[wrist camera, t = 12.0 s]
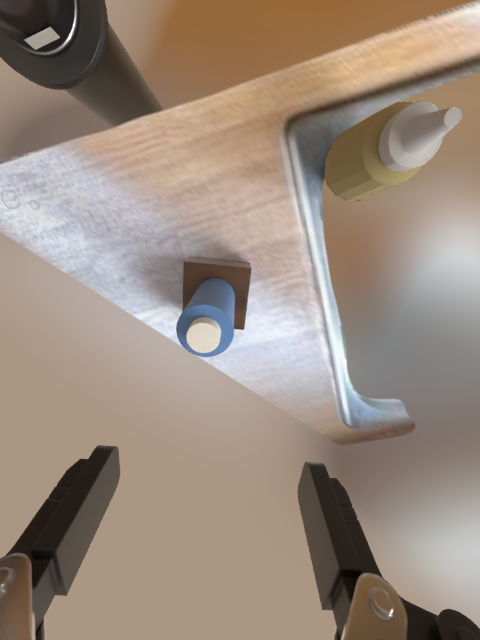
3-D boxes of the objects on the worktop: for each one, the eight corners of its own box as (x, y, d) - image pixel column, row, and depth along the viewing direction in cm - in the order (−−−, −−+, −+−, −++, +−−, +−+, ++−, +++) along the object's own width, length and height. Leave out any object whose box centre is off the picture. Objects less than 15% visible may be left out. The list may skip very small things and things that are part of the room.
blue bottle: (196, 276, 34) (172, 306, 21) (236, 280, 34) (236, 312, 21) (195, 313, 36) (172, 362, 23) (233, 317, 36) (230, 367, 23)
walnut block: (190, 256, 38) (183, 261, 33) (249, 262, 38) (251, 268, 33) (188, 313, 41) (182, 324, 36) (243, 318, 41) (244, 330, 37)
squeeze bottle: (360, 120, 32) (497, 3, 15) (385, 179, 34) (528, 135, 17) (304, 162, 33) (373, 98, 17) (332, 216, 36) (417, 207, 19)
